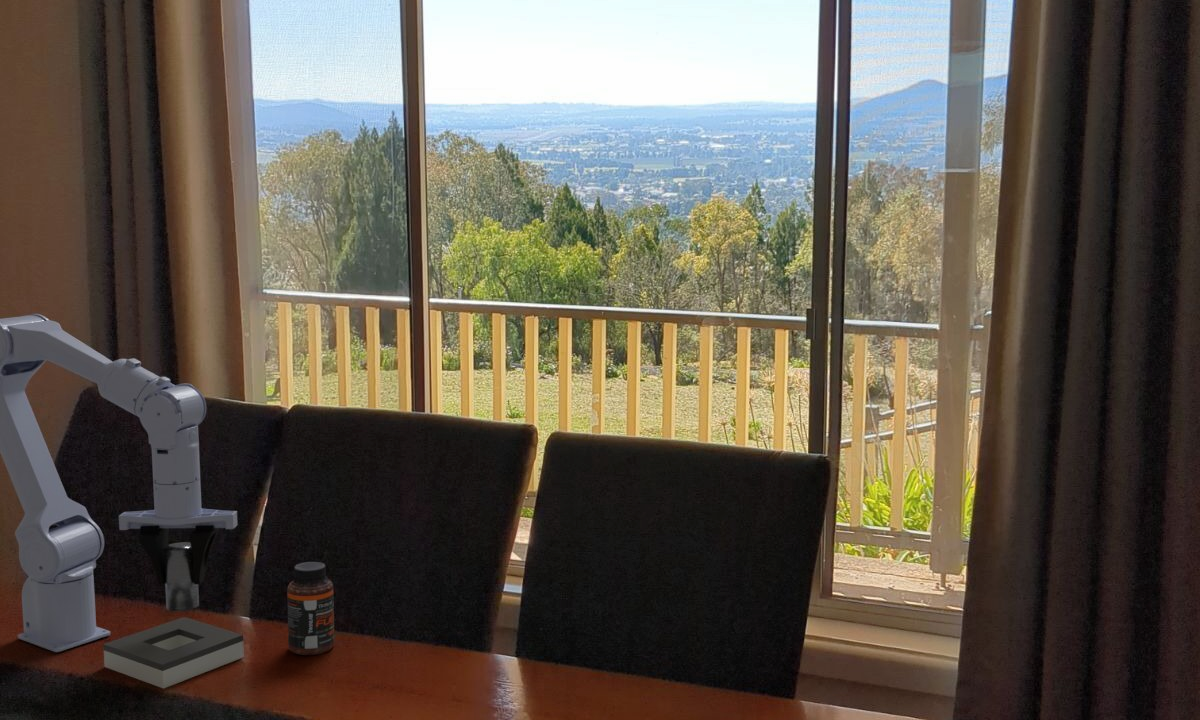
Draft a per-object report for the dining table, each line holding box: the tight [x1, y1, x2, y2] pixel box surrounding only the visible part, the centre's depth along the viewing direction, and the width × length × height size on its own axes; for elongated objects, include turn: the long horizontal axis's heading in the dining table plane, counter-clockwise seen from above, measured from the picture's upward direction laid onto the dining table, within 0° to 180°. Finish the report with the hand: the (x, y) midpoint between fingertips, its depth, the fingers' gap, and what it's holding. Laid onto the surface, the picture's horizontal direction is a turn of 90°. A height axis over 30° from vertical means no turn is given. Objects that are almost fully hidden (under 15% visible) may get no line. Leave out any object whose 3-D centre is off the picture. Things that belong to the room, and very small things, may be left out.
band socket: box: [102, 616, 245, 689], centre depth 147 cm, size 12×12×3 cm
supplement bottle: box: [286, 561, 335, 656], centre depth 151 cm, size 6×6×11 cm
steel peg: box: [164, 541, 200, 612], centre depth 149 cm, size 4×4×8 cm
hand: (181, 582), depth 149 cm, fingers closed on steel peg, 4 cm apart
